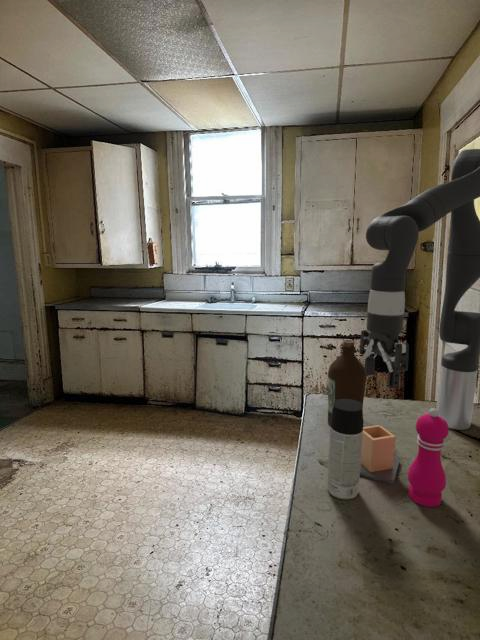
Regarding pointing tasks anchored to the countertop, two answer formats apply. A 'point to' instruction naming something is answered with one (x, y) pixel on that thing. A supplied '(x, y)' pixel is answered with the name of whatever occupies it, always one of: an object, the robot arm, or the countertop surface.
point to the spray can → (345, 448)
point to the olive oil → (346, 377)
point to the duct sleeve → (377, 448)
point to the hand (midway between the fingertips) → (380, 380)
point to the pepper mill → (428, 460)
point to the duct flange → (381, 472)
